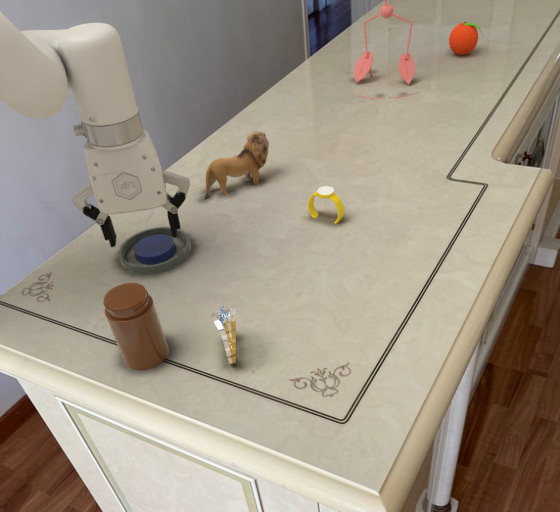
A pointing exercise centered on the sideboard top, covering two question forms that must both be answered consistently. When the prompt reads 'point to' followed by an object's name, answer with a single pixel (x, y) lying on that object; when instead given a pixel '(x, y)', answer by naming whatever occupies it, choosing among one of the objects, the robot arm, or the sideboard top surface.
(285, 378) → the sideboard top surface
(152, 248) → the lid
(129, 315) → the jar
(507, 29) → the sideboard top surface
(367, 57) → the balance scale
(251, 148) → the lion figurine
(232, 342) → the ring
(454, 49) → the clementine
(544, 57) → the sideboard top surface
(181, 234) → the grey-green bangle
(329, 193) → the watch
